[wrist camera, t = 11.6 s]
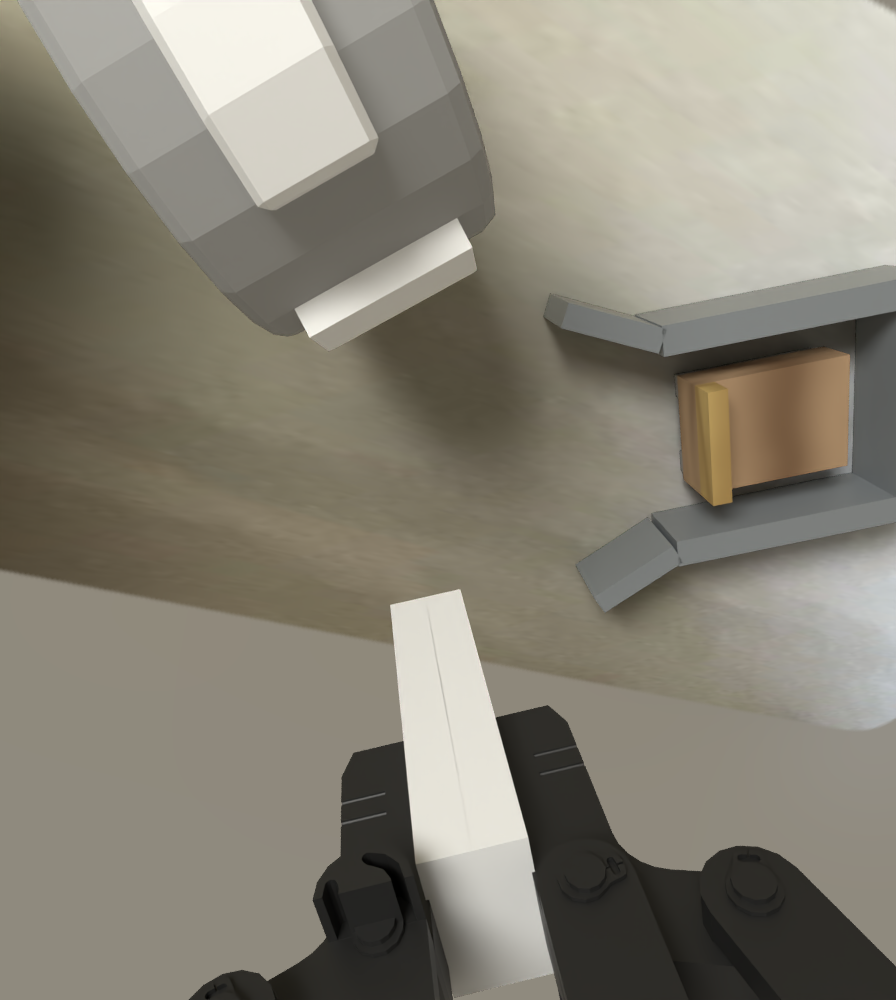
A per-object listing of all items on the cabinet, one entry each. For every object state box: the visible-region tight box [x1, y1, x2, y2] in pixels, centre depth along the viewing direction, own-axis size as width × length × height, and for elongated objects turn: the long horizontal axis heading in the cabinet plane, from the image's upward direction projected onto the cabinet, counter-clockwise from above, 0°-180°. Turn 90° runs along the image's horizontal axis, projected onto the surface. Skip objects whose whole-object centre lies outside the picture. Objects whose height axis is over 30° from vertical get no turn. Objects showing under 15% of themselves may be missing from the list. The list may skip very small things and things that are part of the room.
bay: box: [543, 265, 896, 612], centre depth 40 cm, size 18×17×4 cm
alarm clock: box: [17, 0, 495, 351], centre depth 25 cm, size 18×8×20 cm, turn 28°
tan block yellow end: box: [675, 346, 850, 506], centre depth 40 cm, size 8×6×5 cm
